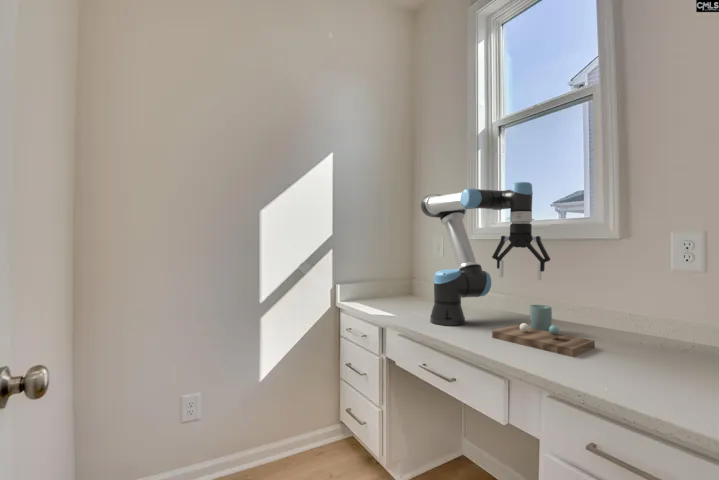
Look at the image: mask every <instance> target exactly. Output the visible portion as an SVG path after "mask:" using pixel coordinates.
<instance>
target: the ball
mask: <svg viewBox="0 0 719 480" xmlns="http://www.w3.org/2000/svg"><path fill="white" fill-rule="evenodd" d="M519 326H520V330H521V331H522V332H527V331H528V330H529V328H530V326H529V325H528V324H527V323H525V322H522V323H520V325H519Z"/></svg>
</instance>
